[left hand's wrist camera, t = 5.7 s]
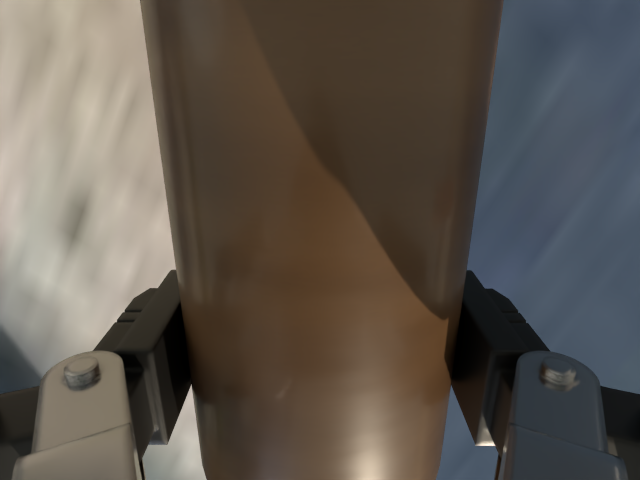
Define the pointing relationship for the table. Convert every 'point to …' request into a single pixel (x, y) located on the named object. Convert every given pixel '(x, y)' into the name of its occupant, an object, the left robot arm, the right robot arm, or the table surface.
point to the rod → (321, 222)
